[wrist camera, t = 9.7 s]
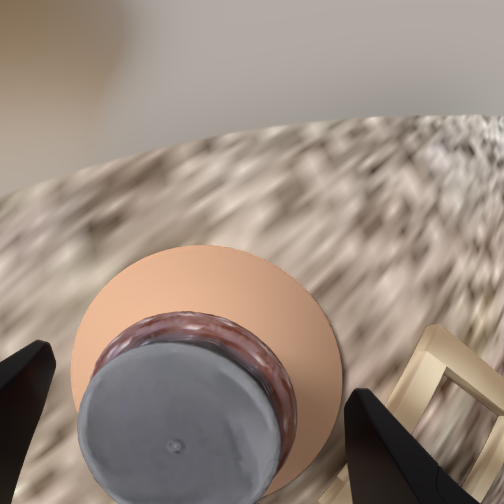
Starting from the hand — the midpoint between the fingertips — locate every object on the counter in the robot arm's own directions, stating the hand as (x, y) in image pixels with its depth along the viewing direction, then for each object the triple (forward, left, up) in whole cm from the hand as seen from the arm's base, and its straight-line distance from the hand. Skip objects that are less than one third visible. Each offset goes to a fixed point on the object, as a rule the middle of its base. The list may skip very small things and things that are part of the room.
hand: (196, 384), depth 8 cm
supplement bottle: (0, -1, -8) cm, 8 cm away
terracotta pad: (0, -1, -9) cm, 9 cm away
